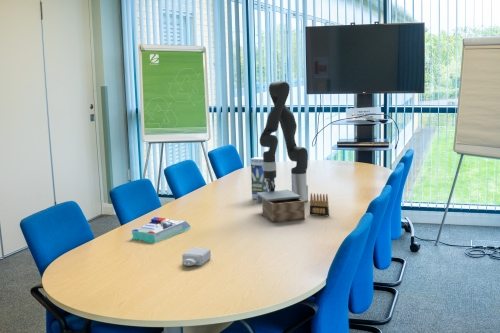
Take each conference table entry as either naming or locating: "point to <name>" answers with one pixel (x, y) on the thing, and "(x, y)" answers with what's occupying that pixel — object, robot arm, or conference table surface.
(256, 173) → the string lights box
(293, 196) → the box lid
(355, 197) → the conference table surface
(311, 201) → the ammunition clip
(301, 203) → the walnut box
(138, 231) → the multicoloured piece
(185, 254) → the charger
